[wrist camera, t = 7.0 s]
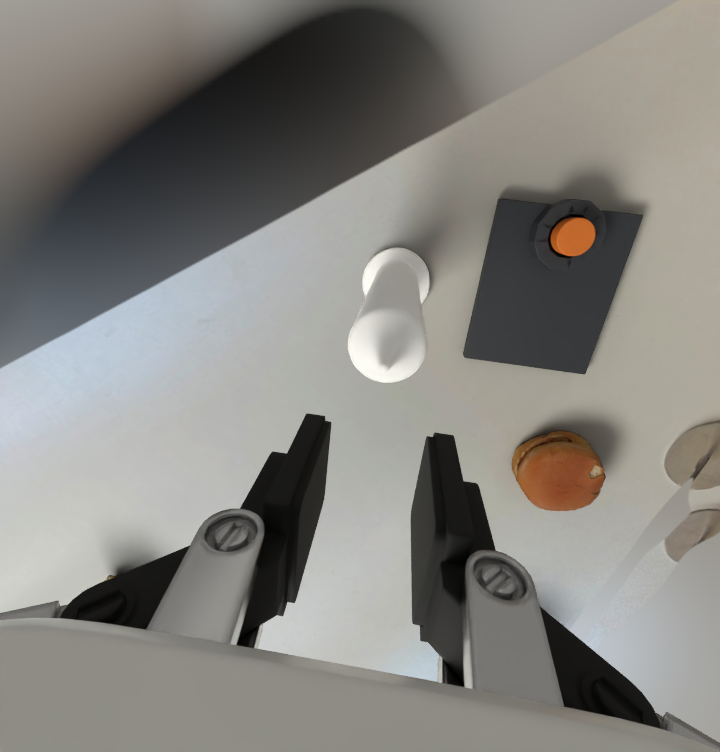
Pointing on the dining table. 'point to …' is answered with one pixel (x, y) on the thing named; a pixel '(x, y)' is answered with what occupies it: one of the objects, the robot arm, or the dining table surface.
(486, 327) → the scale
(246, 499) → the robot arm
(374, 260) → the candle
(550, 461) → the burger
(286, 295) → the dining table surface
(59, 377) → the dining table surface
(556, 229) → the button
